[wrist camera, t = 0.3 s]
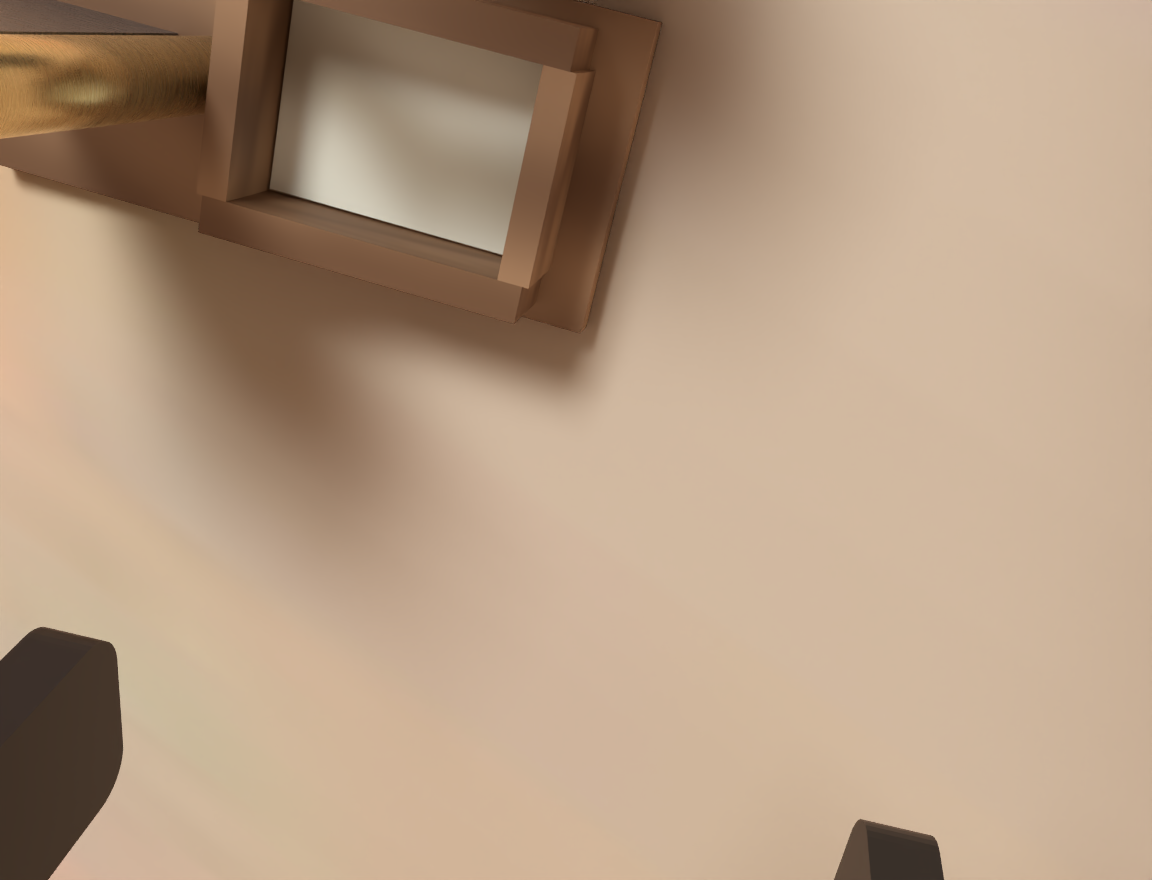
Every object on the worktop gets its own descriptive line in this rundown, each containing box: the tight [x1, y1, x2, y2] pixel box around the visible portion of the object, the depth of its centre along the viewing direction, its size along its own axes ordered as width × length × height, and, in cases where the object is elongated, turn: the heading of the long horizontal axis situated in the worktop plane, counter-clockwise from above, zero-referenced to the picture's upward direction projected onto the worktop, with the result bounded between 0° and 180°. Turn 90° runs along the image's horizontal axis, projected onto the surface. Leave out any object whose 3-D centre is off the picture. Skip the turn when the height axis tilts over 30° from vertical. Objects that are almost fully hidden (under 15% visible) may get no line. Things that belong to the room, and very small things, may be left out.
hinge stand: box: [0, 0, 662, 333], centre depth 35 cm, size 10×22×4 cm, turn 77°
